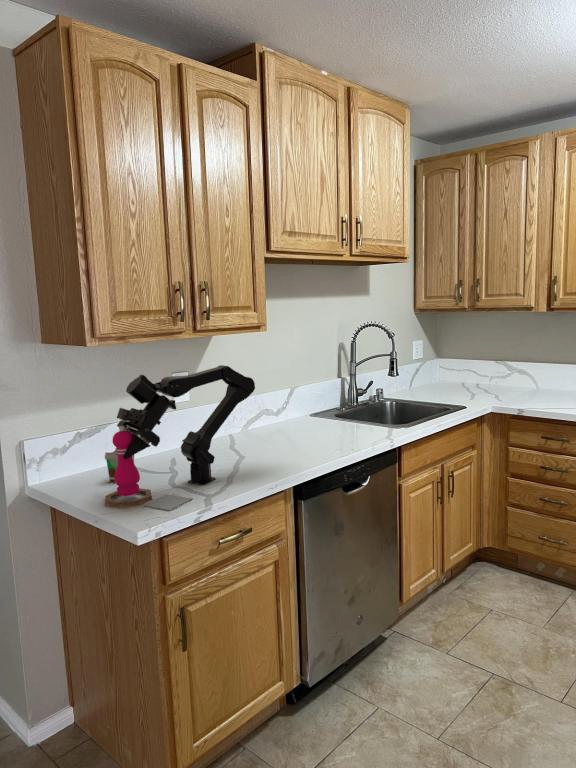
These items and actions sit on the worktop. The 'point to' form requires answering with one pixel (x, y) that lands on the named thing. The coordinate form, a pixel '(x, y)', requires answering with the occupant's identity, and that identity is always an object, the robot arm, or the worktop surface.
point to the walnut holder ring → (128, 503)
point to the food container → (112, 464)
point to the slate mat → (167, 502)
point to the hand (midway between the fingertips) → (120, 456)
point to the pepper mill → (125, 465)
